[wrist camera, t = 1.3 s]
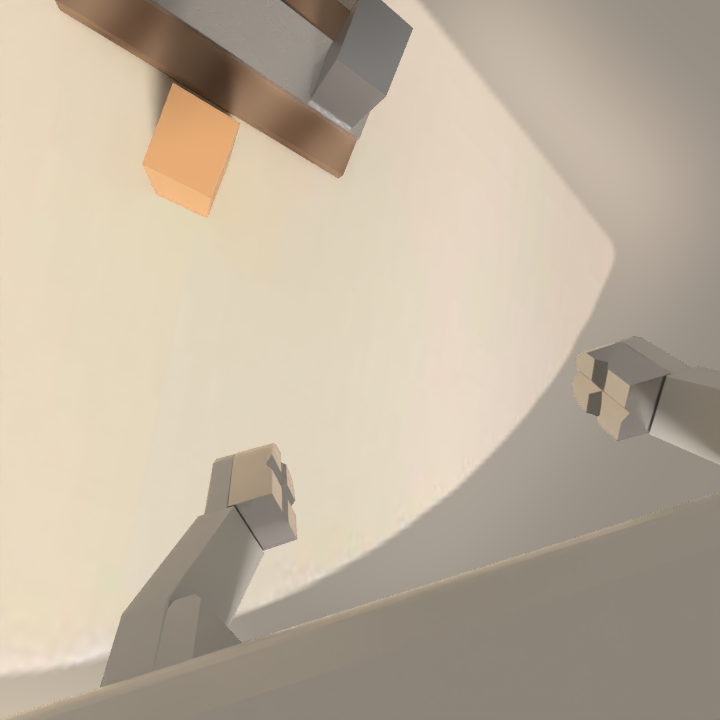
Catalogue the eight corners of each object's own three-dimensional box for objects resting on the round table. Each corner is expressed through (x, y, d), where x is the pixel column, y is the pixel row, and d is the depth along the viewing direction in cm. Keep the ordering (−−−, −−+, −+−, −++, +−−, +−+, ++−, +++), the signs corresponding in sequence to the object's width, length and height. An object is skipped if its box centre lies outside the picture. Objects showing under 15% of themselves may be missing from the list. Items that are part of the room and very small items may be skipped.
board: (59, 9, 27) (54, -2, 26) (121, -162, 26) (118, -181, 25) (338, 178, 36) (342, 175, 35) (387, 54, 36) (393, 47, 34)
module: (156, 193, 31) (142, 164, 23) (178, 133, 31) (173, 82, 23) (207, 217, 33) (211, 198, 24) (228, 161, 32) (240, 123, 24)
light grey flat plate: (71, -50, 25) (68, -57, 25) (100, -132, 25) (98, -141, 25) (356, 140, 35) (358, 138, 34) (379, 82, 35) (382, 79, 34)
